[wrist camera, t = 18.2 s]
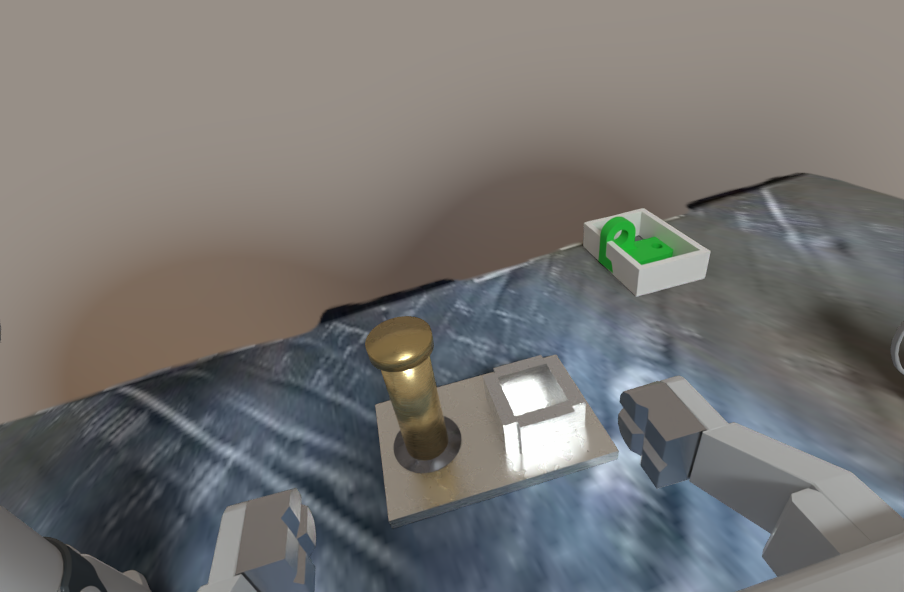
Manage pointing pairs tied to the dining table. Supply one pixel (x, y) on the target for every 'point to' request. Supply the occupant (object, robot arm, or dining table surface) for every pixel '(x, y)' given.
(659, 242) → the mechanical part
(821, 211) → the dining table surface
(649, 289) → the parts tray
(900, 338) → the glass holder
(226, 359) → the dining table surface
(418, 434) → the brass flanged pin
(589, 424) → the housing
